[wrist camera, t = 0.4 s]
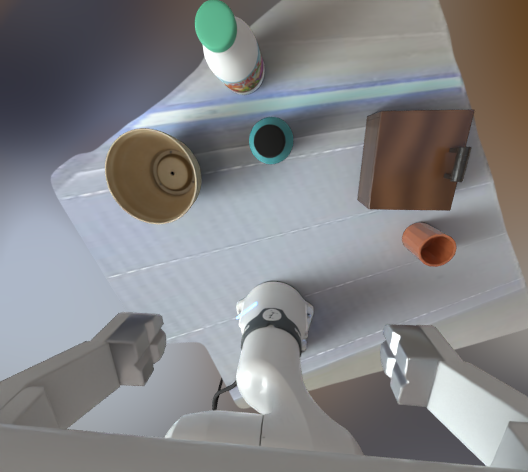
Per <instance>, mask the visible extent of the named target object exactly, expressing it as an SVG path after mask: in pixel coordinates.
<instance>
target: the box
mask: <svg viewBox="0 0 528 472" xmlns="http://www.w3.org/2000/svg"><path fill="white" fill-rule="evenodd" d="M379 119H380V112H378V113H375V114H373V115H370V116H367V122H366V130H365V139H364V148H363V156H362V165H361V173H360V182H359V190H358V199H357V200H358V201H359V202H361V203H362V204H363V205H364V206H366V207H367V208H368V202H369V195H370V187H371V179H372V172H373V164H374V157H375V149H376V141H377V134H378V126H379Z"/></svg>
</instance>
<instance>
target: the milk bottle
mask: <svg viewBox="0 0 528 472" xmlns="http://www.w3.org/2000/svg"><path fill="white" fill-rule="evenodd" d="M195 29H196V33H197V36H198V38H199V40H200V41H201V43H202V44H203V49H204V55H205V59H206V61H207V63H208V65H209V67H210V69H211V70H212V72H213V73H214V74H215V75H216V76H217V77H218V78H219V79H220V80H221V81H222V82H223V83H224V84H225V85H226V86H227V87H228V88H229V89H230V90H232V91H233V92H235V93H237V94H240V95H247V94H251V93H253V92H254V91H256V90H257V89H258V88H259V86H260V85H261V83H262V81H263V78H264V73H265V68H264V62H263V59H262V55H261V52H260V49H259V46H258V43H257V40H256V38H255V36H254V34H253V32H252V30H251V29H250V27H249V26H248V25H247V24H246V23H245V22H244V21H243V20H241V19H240V18H238V17H235V16H234V14H233V13H232V11H231V9H230V8H229V7H228V6H227V5H226V4H225V3H223V2H222V1H219V0H209V1H206V2H205V3H203V5H201V7H200V8H199V9H198V12H197V14H196V18H195Z"/></svg>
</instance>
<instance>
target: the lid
mask: <svg viewBox="0 0 528 472" xmlns="http://www.w3.org/2000/svg"><path fill="white" fill-rule="evenodd" d="M473 114H474V110H415V111H381V112H380V119H379V126H378V134H377V141H376V149H375V157H374V164H373V172H372V179H371V187H370V195H369V202H368V209H386V210H450V209H451V205H452V201H453V197H454V193H455V189H456V185H457V182H463V179H464V175H465V171H466V167H467V163H468V159H469V155H470V151H471V147H466V143H467V139H468V135H469V131H470V127H471V122H472V118H473Z"/></svg>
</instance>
